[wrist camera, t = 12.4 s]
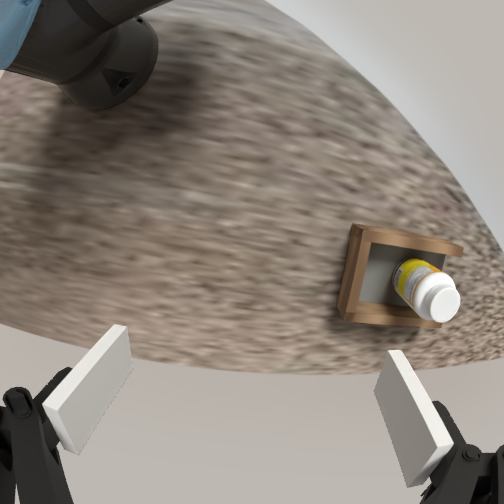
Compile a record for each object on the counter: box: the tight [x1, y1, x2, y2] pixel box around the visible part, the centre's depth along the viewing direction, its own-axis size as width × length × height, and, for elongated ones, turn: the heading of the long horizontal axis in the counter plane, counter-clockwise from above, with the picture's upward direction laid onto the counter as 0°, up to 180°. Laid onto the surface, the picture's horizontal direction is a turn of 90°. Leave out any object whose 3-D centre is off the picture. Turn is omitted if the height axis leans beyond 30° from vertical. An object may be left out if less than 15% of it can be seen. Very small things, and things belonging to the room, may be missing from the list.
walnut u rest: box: [337, 223, 463, 328], centre depth 35 cm, size 14×11×5 cm
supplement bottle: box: [393, 257, 460, 323], centre depth 31 cm, size 6×6×10 cm
